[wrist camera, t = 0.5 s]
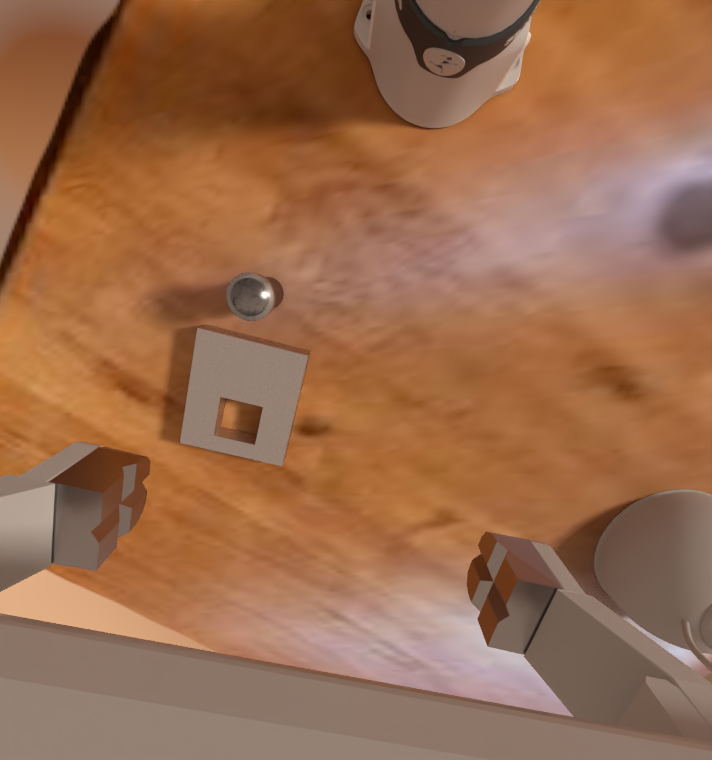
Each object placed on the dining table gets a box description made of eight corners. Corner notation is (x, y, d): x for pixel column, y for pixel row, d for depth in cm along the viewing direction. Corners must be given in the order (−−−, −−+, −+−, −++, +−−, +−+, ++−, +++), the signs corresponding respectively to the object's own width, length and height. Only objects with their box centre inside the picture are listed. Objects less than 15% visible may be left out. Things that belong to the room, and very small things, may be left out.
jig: (206, 324, 50) (197, 327, 47) (310, 351, 51) (308, 355, 48) (189, 433, 54) (179, 442, 51) (285, 456, 55) (282, 466, 52)
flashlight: (252, 268, 48) (230, 267, 39) (291, 278, 48) (277, 279, 40) (245, 307, 49) (222, 314, 40) (283, 317, 49) (268, 326, 41)
